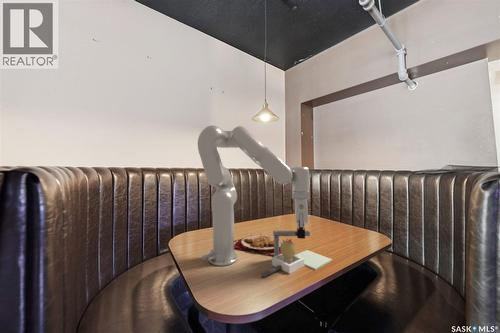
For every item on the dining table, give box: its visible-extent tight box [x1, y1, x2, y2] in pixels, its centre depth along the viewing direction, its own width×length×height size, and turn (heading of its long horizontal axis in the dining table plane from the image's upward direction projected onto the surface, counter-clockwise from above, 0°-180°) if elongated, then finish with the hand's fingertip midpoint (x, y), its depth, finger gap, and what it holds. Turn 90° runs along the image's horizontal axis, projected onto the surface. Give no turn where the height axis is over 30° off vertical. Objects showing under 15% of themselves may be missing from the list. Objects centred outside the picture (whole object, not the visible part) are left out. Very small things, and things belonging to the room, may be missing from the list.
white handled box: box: [261, 236, 305, 278], centre depth 79 cm, size 20×12×10 cm, turn 129°
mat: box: [295, 249, 333, 271], centre depth 86 cm, size 13×13×1 cm
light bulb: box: [280, 240, 297, 264], centre depth 81 cm, size 6×6×10 cm
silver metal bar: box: [272, 230, 311, 237], centre depth 87 cm, size 3×16×2 cm, turn 90°
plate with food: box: [234, 233, 292, 256], centre depth 105 cm, size 25×26×4 cm
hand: (301, 237), depth 84 cm, fingers closed
